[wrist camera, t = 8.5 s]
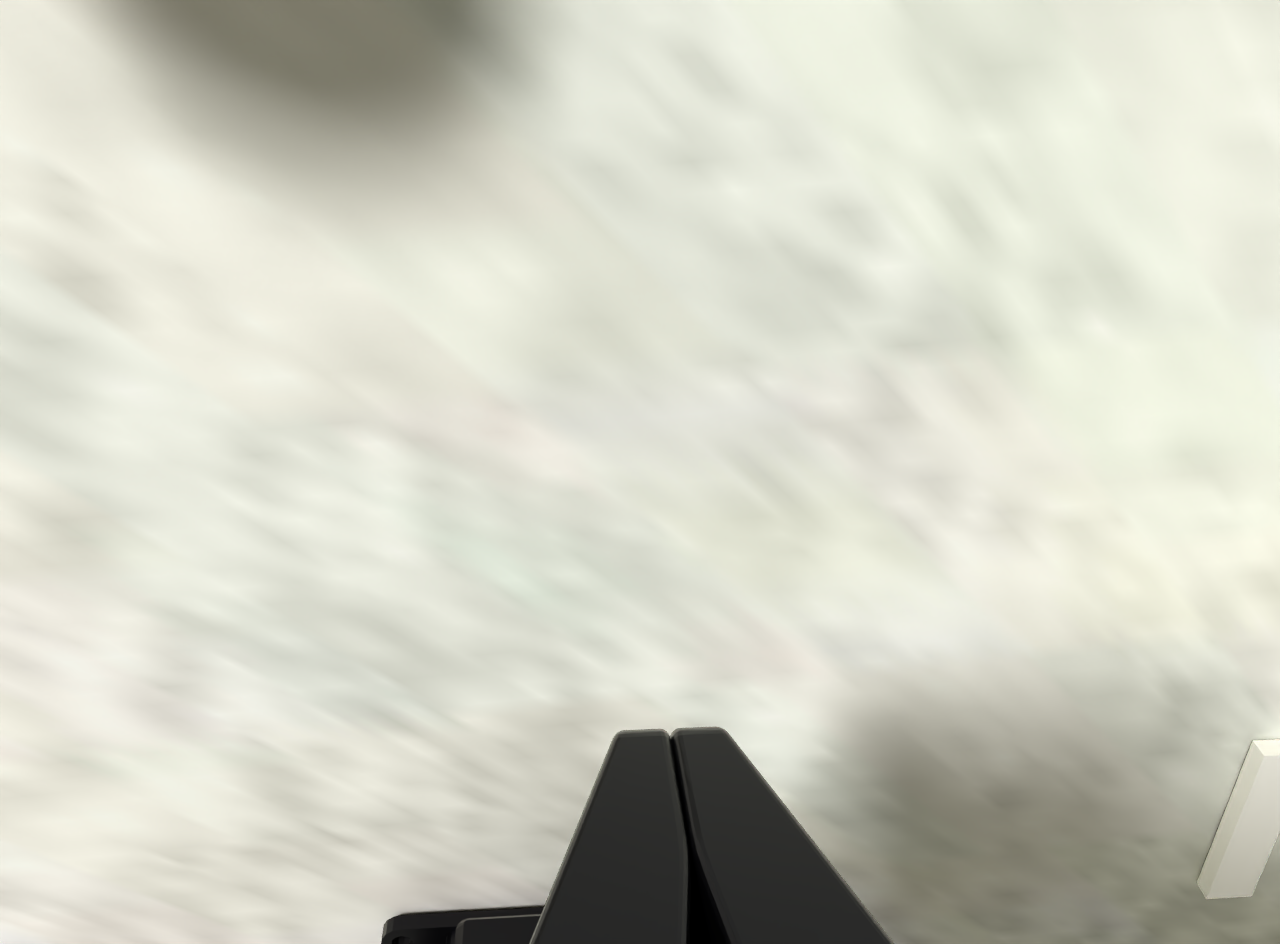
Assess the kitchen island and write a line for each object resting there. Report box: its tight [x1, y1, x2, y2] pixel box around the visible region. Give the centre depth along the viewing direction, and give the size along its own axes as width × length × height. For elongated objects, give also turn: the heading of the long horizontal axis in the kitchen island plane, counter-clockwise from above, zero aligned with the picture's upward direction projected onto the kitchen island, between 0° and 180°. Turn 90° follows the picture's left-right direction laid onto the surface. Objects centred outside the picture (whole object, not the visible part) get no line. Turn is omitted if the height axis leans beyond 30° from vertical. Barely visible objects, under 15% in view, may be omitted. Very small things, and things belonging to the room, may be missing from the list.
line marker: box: [1197, 739, 1280, 899], centre depth 28 cm, size 5×1×1 cm, turn 0°
